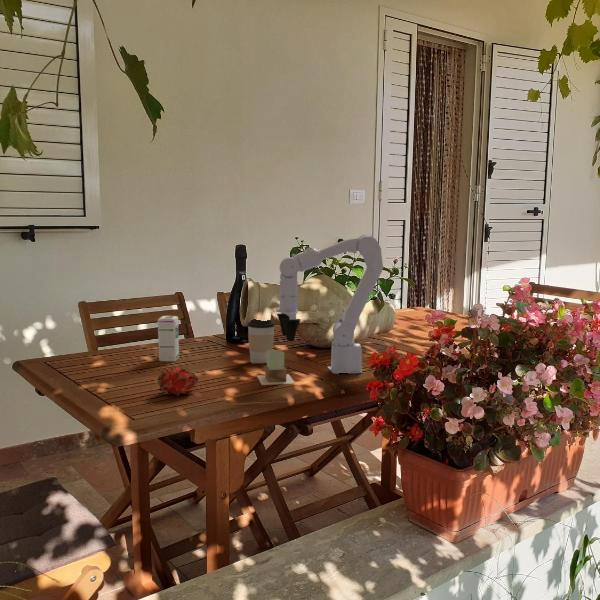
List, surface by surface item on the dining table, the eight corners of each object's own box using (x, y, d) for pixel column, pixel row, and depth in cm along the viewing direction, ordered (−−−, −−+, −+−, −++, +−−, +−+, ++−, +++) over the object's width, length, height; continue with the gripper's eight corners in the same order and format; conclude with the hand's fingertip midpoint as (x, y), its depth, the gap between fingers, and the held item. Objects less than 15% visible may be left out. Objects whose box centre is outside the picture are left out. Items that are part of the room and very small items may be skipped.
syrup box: (176, 361, 216) (175, 318, 214) (158, 361, 216) (157, 318, 214) (179, 357, 222) (179, 315, 220) (162, 357, 222) (161, 315, 220)
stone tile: (288, 375, 202) (288, 374, 202) (295, 384, 192) (295, 383, 192) (256, 377, 200) (256, 375, 199) (261, 386, 190) (261, 384, 190)
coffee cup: (257, 357, 224) (257, 314, 221) (279, 361, 219) (280, 317, 217) (241, 362, 216) (242, 318, 214) (264, 366, 212) (264, 321, 209)
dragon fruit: (153, 401, 180) (194, 401, 185) (163, 390, 173) (205, 391, 179) (151, 372, 183) (191, 374, 189) (160, 360, 177) (202, 362, 183)
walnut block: (282, 376, 199) (283, 365, 198) (286, 381, 194) (286, 370, 193) (265, 377, 198) (265, 366, 197) (268, 382, 192) (268, 370, 192)
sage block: (281, 365, 198) (281, 349, 197) (284, 369, 193) (284, 353, 192) (266, 366, 197) (267, 350, 196) (269, 370, 192) (269, 353, 192)
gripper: (272, 292, 211) (271, 333, 213) (280, 299, 197) (279, 343, 199) (293, 292, 212) (293, 332, 215) (303, 299, 198) (302, 342, 201)
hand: (288, 338), depth 207 cm, fingers open, 7 cm apart
